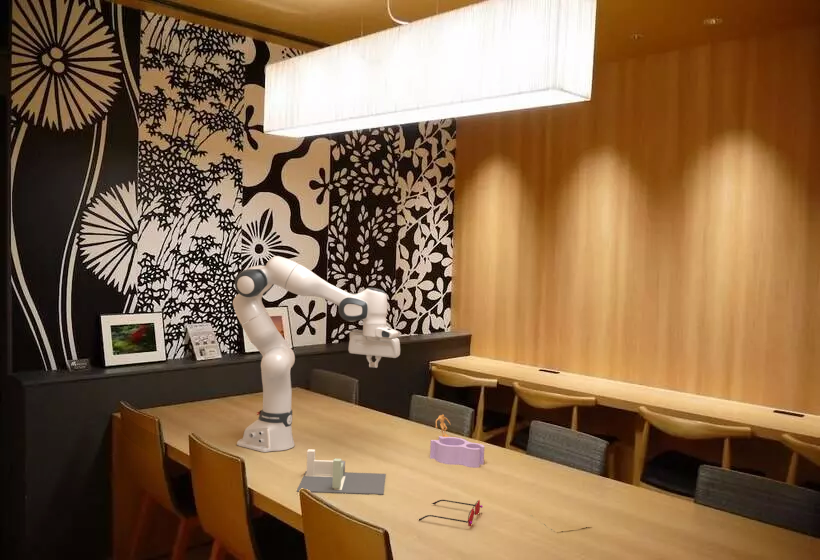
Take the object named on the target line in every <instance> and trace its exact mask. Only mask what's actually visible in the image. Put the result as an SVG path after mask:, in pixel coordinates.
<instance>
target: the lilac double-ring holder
mask: <svg viewBox="0 0 820 560" xmlns="http://www.w3.org/2000/svg"><path fill="white" fill-rule="evenodd" d="M429 448H430V449H429V459H432V460H433V459H434V460H435V461H436V462H438V463H441V464H445V465H455V466H456V465H460V466H464V467H467V468H480V466H482V465H484V464H485V445H484V444H482V443H477V442H471V441H468V440H466V438H465V439H464V438H461V437H454V436H449V437H442V435H439V436H438V439H431V440H430V447H429Z"/></svg>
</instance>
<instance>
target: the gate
mask: <svg viewBox="0 0 820 560" xmlns="http://www.w3.org/2000/svg"><path fill="white" fill-rule="evenodd" d="M332 461H333V483H332V488H340V486H341V480H342V477H343V475H345V472H346V460H342V458H333V459H332Z"/></svg>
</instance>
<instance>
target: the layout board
mask: <svg viewBox="0 0 820 560" xmlns="http://www.w3.org/2000/svg"><path fill="white" fill-rule="evenodd" d="M386 475H387V473H375V472H373V473H372V472H348V471H347V472H346V471H345V475H343V477H342V480H341V486H340V488H332V483H333V477H332V475H328V474H314V476H307V470H306V471H305V472H304V474H303V476H302V479H301V480H300V483H299V485H298V487H297V489H296V493H300V492H299V490H300V489H301V488H304V489H308V490H310V491H311V492H310V493H317V494H342V493H343V494H345V493H346V494H347V495H369V494H378V495H377V496H383V495H384V493H385V483H386ZM343 494H342V495H343ZM346 494H345V495H346Z"/></svg>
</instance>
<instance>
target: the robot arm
mask: <svg viewBox="0 0 820 560" xmlns="http://www.w3.org/2000/svg"><path fill="white" fill-rule="evenodd" d="M274 285H275V286H278V287H281V288H282V289H284V290H286V291H288V292H290V293H292V294H295V295H298V296H302V297H318V298H322V299H324V300H327V301H328V302H330V303H332V304H333V305H336V306H338V314H339V316H340V317H341V318H342V319H343V320H345V321H347V322H350V323H351V322H357V321H363V323H362V324H363V325H362V329H352V330H351V331H350V332H349V342H348V353H349V354H353V355H354V354H355V355H364V356H366V360H367V362H368V363H369V364H368V367H369V368H373V369H374V368H376V369H377V368H378V366H379V362H380V361H381V359H382V358H383V357H384V358H390V359H391V358H393V359H396V358H398V357H399V356H400V355H401V343H400V339H399V338H398V336H399V331H398V330H396V329H393V328H391V327H390V326H388V325H387V324H388V321H387V315H388V296H387V293H386V292H385V291H384V290H383V289H380V288H376V287H367V288H365V289H364V290H362V291H360V292H358V293H355V292H354V293H353V292H348V291H346V290H343V289H341V288H340V287H337V286H336V285H334V284H331V283H329V282H328V281H326V280H325V279H323V278H321V277H320V276H319V275H317V274H316V273H315V272H313V271H312V270H311V269H308V268H307V267H306V266H304V265H302V264H300V263H298V262H297V261H295V260H292V259H289V258H286V257H283V256H280V255H275V256H273V257H271V258H269V260H268V261H267V263H265V264H258V265H253V266H250V267H247V268H246V269H244V270H242V271H241V272H239V273H238V274H237V276H236V277H235V281H234V286H235V287H234V288H235V290H236V292H237V293H238V294H236V296H235V297H234V298H233V300H232V307H233V309H234V312H235V314H236V317H237V319H238V321H239V324H240V325H241V328H242V329H243V330H244V332H245V334H246V335H247V338H248V340H249V341H250V343H251V344H252V345H253V346H254V347H255V348H256V349H257V350H258V351H259V353H260V354H261V356H262V357H261V361H260V370H261V371H260V373H261V383H262V409H260V410H259V411H258V412H256V416H258V415H259V416H258V419H256V420H255V421H253V422H252V423H251V424H249V425H248V426H246V427H245V429H244V431H243V437H242V438H240V439H238V440H237V441H236V446H239V447H243V448H246V449H250V450H253V451H254V450H255V451H257V452H261V453H267V452H279V451H285V450H290V449H292V448H293V447H295V446H296V445H295V442H294V437H293V429H292V427H293V426H292V424H293V409H292V399H293V398H292V397H293V396H292V395H293V394H292V393H293V390H292V389H293V388H292V381H291V368H293V366H294V364H295V360H296V356H295V353H294V351H293V349H292V348H291V347H290V345H289V344H288V342H287V340H286V339H285V338H284V336H283V335H282V333H280V332H279V330H278V328H277V327H276V325H275V323H274V321H273V319H272V317H271V316H270V314H269V313H268V311H267V309H266V307H265V306H264V304H263V301H262V298H263V297H264V296H265V295H266V294H268V292H269V291H270V290H271V289H272V288H273V287H274ZM373 357H374V358H375V361H373V359H372V358H373Z"/></svg>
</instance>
